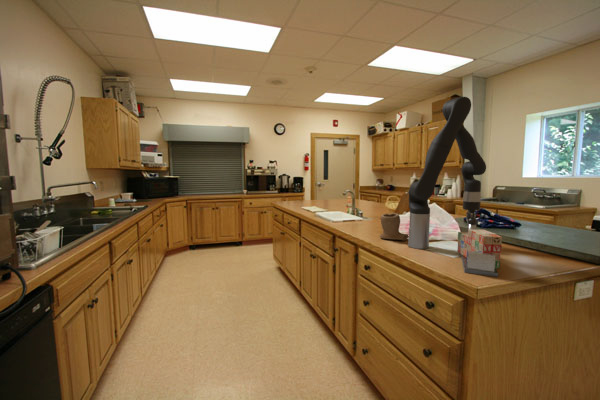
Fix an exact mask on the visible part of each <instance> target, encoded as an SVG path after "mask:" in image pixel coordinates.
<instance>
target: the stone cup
mask: <svg viewBox="0 0 600 400" xmlns="http://www.w3.org/2000/svg"><path fill="white" fill-rule="evenodd" d="M380 225H381V228H382V231H383V233H380V234H379V238H380V239H384V240H393V241H406V240H408V235H409V233H403V232H400V225H401V217H400V214H399V213H395V212H391V213H384V214H382V215H380Z"/></svg>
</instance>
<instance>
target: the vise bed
mask: <svg viewBox="0 0 600 400" xmlns="http://www.w3.org/2000/svg"><path fill="white" fill-rule="evenodd" d="M459 254H460V258H461V262H462V268H463V272H464V273H465V274H472V275H477V276H478V275H480V276H486V277H493V278H499V272H498V270H497V269H495V254H494V253H485V252H476V251H468V258H466V257H465V256H464V255H462V254H461V253H459Z"/></svg>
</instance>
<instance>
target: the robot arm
mask: <svg viewBox="0 0 600 400" xmlns="http://www.w3.org/2000/svg"><path fill="white" fill-rule="evenodd" d="M471 108H472V101H471V99H470V98H469V97H468V96H460V97H456V98H452V99H450V100H447V101H445V102H444V104H443V106H442V111H441V112H442V114H443V117H444V119H445V121H446V123H445V124H444V126H443V127H442V129H441V130H440V131H439V132H438V133H437V134H436V136H435V137H434V138H433V139H432V140H431V143H430V145H429V147H428V148H427V149H428V150H427V152H426V157H425V162H424V163H425V164H424V168H423V172H422V174H421V175H420V178H419V179H418V180H417V181H414V182H413V183H411V185H410V186H409V188H408V189H409V190H408V207H409V224H408V225H409V226H408V227H409V228H408V235H409V236H408V238H407V241H408V242H407V244H408V245H407V246H408V248H409V247H410V248H412V249H418V250H424V249H426V250H427V249H429V248H430V247H429V246H430V245H429V244H430V224H431V223H430V221H431V219H430V217H431V208H430V206H429V201H428V200H429V199H431V197H432V196H433V194H434V191H435V189H436V186H437V182H438V178H439V176H440V173H441V171H442V170H443V169H444V165H445V163H446V161H447V158H448V157H449V154H450V152H451V150H452V147H453V145H454V143H455V141H456V144H457V147H458V150H459V154H460V156H461V158H462V159H464V160H468V161H466V162H464V163H463V164H462V166H461V175H462V179H463V183H464V184H463V185H464V190H463V197H462V209H463V210H464V211H467V212H465V215H466V219H465V220H466V226H467V228H466V229H467V231H466V232H468V219H469V218H475V219H476V218H477V214H476V213H475V211H481V201H482V195H481V194H482V193H481V192H482V190H481V189H482V182H481V180H478V179H475V176H482V175H484V174H485V173H486V171H487V164H486V162H485V160H484V158H483V157H482V156H481V154H480V153H479V151H478V148H477V145H476V142H475V139H474V137H473V136H472V134H471V133H470V131H468V129H467V128H466V127H465V126H464V123H465V121H466V119H467V117H468V116H469V114H470V111H471V110H472V109H471Z"/></svg>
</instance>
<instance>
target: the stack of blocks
mask: <svg viewBox="0 0 600 400" xmlns="http://www.w3.org/2000/svg"><path fill="white" fill-rule="evenodd" d="M502 243H503V236H500V235H498V234H497V233H494V232H491V231H488V230H486V229H476V230H472V229H468V232H467V231H458V232H457V253H459V254H460V253H461V254H462V255H464V256H465V257H466V258H468V251H476V252H485V253H494V254H495V269H496V270H497V269H500V268H501V267H500V266H501V255H502V254H501V253H502ZM461 254H460V255H461Z"/></svg>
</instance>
